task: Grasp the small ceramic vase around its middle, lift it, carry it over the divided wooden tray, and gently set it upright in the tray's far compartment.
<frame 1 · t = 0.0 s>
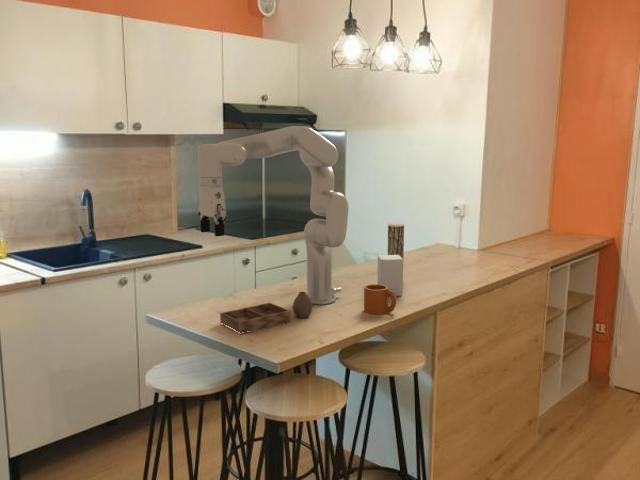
hand: (212, 233, 202), 31 cm above the countertop, fingers open, 9 cm apart
vase: (302, 317, 216), on the countertop
supplement box: (389, 293, 245), on the countertop
bark covered log: (394, 281, 263), on the countertop
mug: (379, 312, 221), on the countertop
divided wooden tray: (255, 323, 209), on the countertop
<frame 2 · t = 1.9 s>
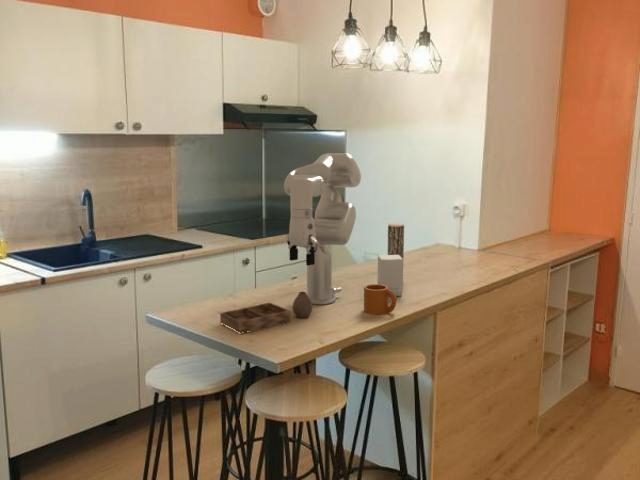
hand: (301, 262, 212), 20 cm above the countertop, fingers open, 9 cm apart
nothing on the countertop moved.
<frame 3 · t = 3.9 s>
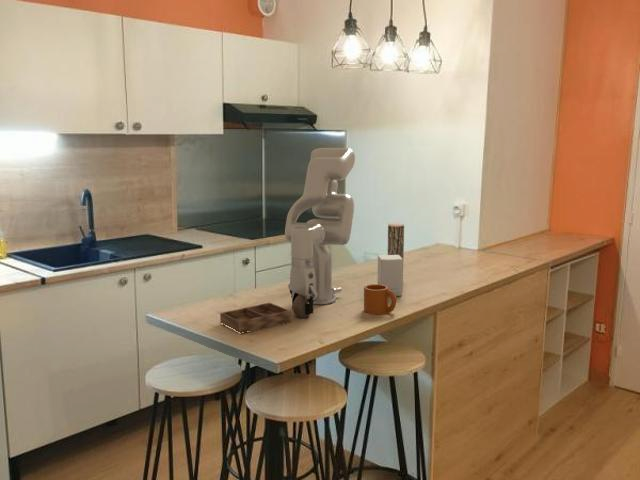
hand: (302, 311, 216), 2 cm above the countertop, fingers closed on vase, 6 cm apart
vase: (302, 317, 216), on the countertop, touching gripper
everything else where it was.
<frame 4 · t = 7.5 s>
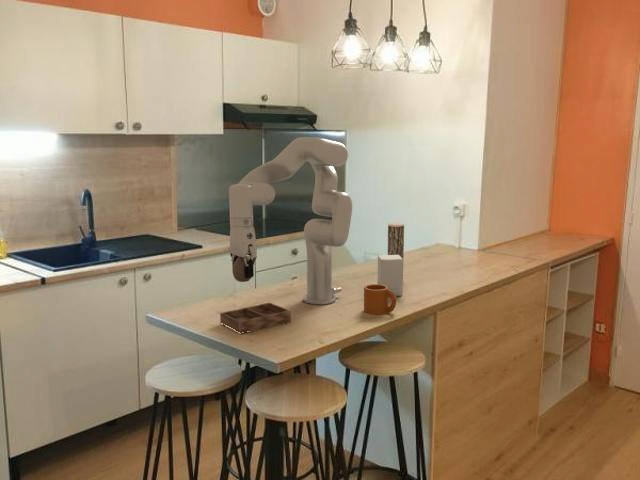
hand: (243, 274, 203), 18 cm above the countertop, fingers closed on vase, 6 cm apart
vase: (243, 281, 203), point 16 cm above the countertop, touching gripper
everything else where it was.
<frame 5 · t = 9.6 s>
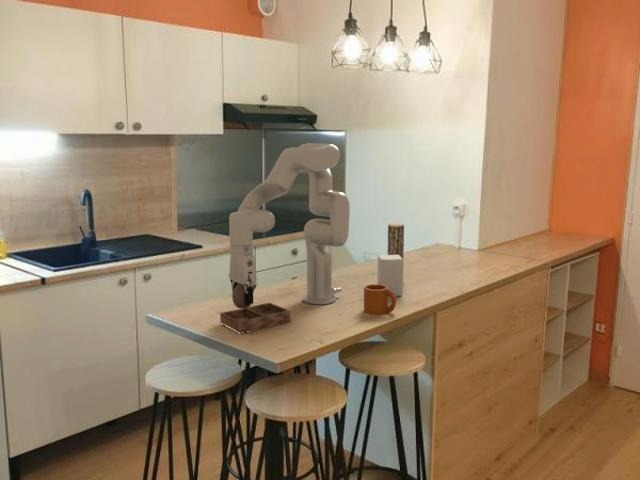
hand: (242, 301, 204), 9 cm above the countertop, fingers closed on vase, 6 cm apart
vase: (243, 307, 205), point 7 cm above the countertop, touching gripper
everything else where it was.
when the fingers open (4 cm above the countertop, at t = 11.3 s): vase stays where it is, resting on divided wooden tray.
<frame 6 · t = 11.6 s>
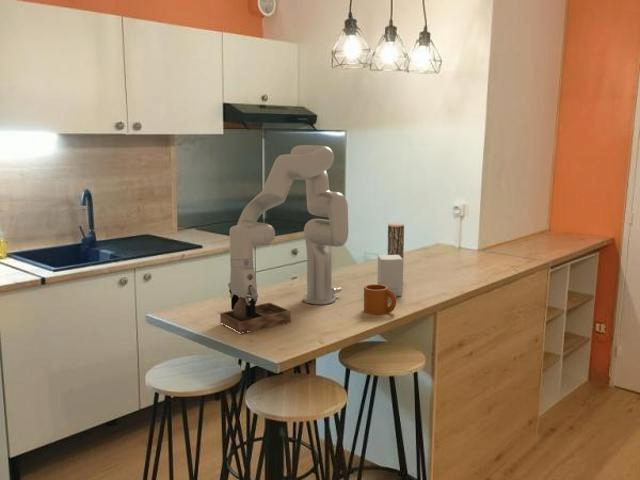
hand: (243, 312, 205), 5 cm above the countertop, fingers open, 9 cm apart
vase: (244, 322, 206), point 1 cm above the countertop, touching divided wooden tray
everything else where it was.
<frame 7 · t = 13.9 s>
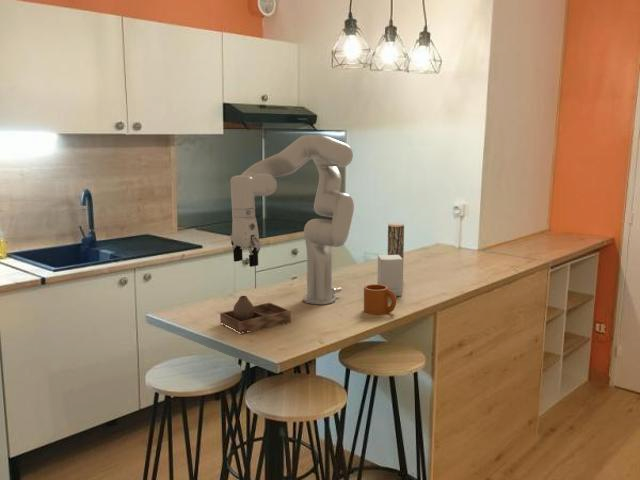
hand: (245, 263, 205), 21 cm above the countertop, fingers open, 9 cm apart
nothing on the countertop moved.
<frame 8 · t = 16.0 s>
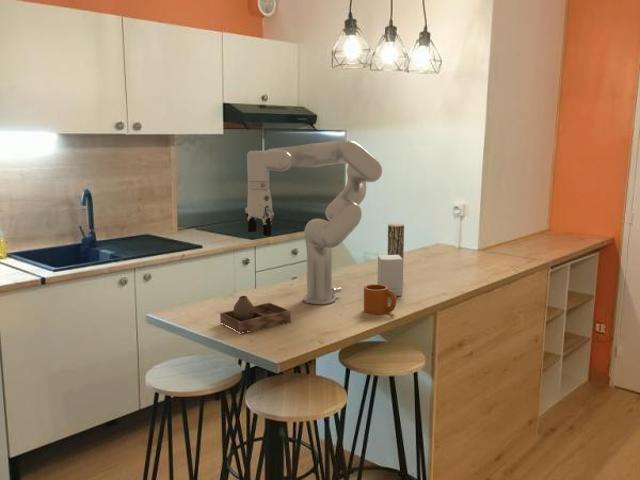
hand: (259, 233, 219), 28 cm above the countertop, fingers open, 9 cm apart
nothing on the countertop moved.
at the end: vase 0.2 cm from the target spot on the divided wooden tray, point 1.3 cm above the divided wooden tray's base; vase tilted 0°; the gripper is holding nothing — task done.
